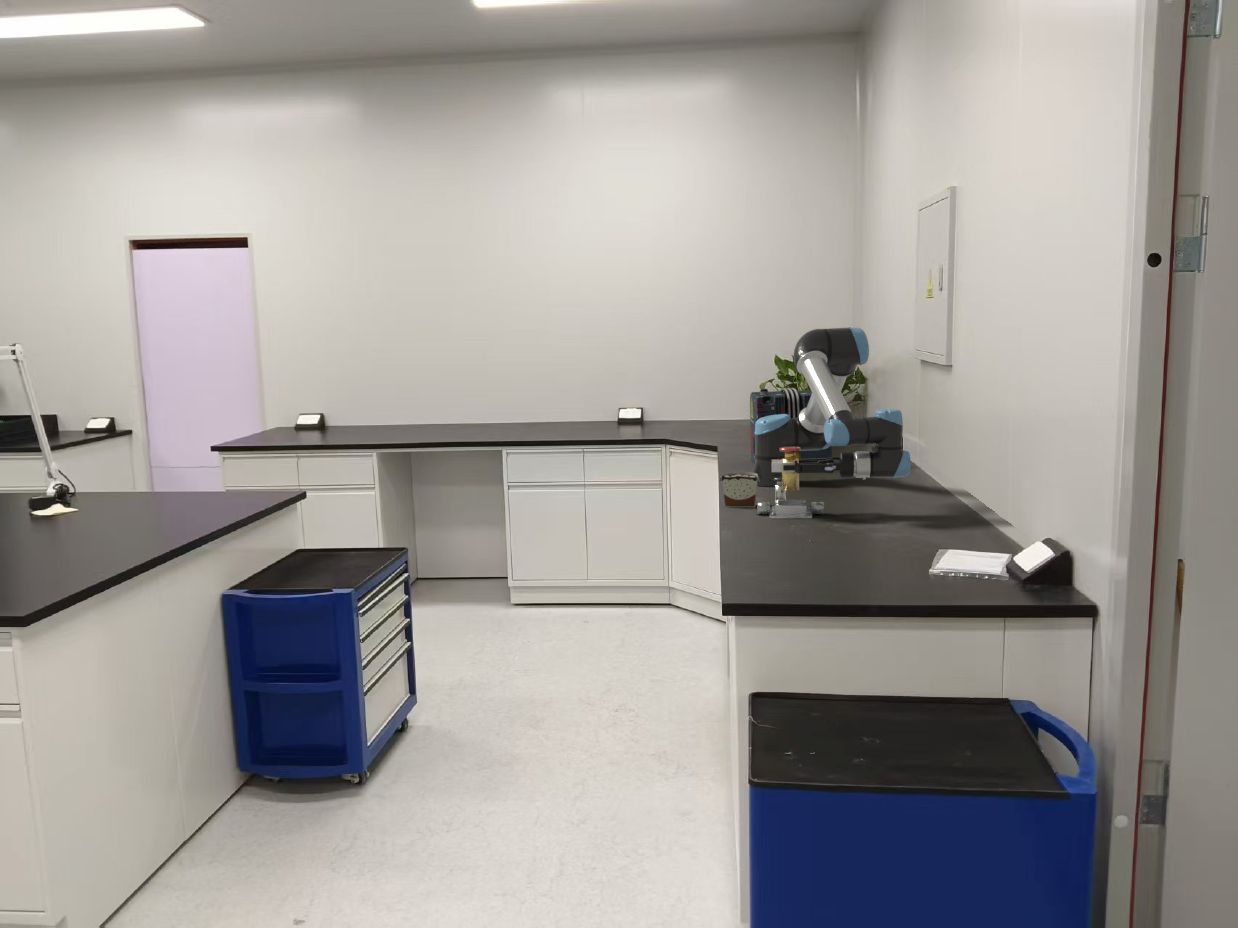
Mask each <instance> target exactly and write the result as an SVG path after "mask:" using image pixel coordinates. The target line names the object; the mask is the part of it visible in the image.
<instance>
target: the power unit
mask: <svg viewBox="0 0 1238 928" xmlns="http://www.w3.org/2000/svg"><path fill="white" fill-rule="evenodd" d="M749 395H750V396H749V414H750V415H749V416H750V417H749V420H750V426H749V427H750V459H751V461H752V463H753V465H755V461H756V453H755V423H756V421H757V420H758V419H760V418H762V417H766V416H770V415H779V414H787V415H789V417H790V418H798V416H799V414H800V412H801V411H802V410H803V409H804V408H806V407H807V405H808V403H809V400H810V397H811V395H812V391H811V389H808V390H806V389H805V390H804V389H803V390H797V389H796V388H794V387H791V388H789V387H787V388H781V390H780V391H777V390H776V391H769V390H768V388H761V389H760V391H752V392H750V394H749ZM828 457H830V458H833V446H830V447H828V448H827V449H822V450H818V451H816V450H815V451H798V452H795V458H828Z"/></svg>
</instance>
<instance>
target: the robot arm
mask: <svg viewBox="0 0 1238 928" xmlns="http://www.w3.org/2000/svg"><path fill="white" fill-rule="evenodd" d="M869 355H870V346H869V340H868V337H867V334H866V333H865V331H864V329H862V328H861V327H850V326H849V327H833V328H815V329H811V330H809V331H807V332H805V333H804V334H803V335H802V336H801V337H800V338H799V339H798V340H797V342H796V344H795V347H794V350H793V363H794V366H795V368H796V370H797V372H798V373H799V374H800V375H801V376H803V377H804V378H805V381H806V383H807V385H808V387H809V390H811V391H812V395H811V397H810V400H809V403H808V405H807V407H806V408H804V409H803V410H802V411H801V412H800V414H799V416H798V418H790V417H789V415H787V414H779V415H770V416H766V417H762V418H760V419H758V420H757V421H756V423H755V453H756V461H755V464H753V465H754V466H753V469H752V472H751V473H756V474H758V476H759V480H760V482H759V481H758V482H757V487H758V486H760V487H775V485H776V484H777V481H775V480H774V477H782V472H797V473H799V474H819V473H820V474H824V473H825V474H833V473H834V472H839V477H840V478H841V479H852V478H854V477H855V478H859V479H862V481H863V480H867V478H872V479H873V478H874V479H875V478H879V479H880V478H881V479H883V478H884V479H885V478H892V479H894V478H906V477H909V475H910V473H911V453H910V452H909V451H908V450H904V448H903V428H904V423H903V420H904V419H903V413H902V411H901V410H900V409H894V408H880V409H876V410H875V412H874V415H873V416H868V417H856V418H855V416H854V414H853V412H852V410H851V408H850V407H849V405H848V402H847V401H846V399H845V397H844V395H843V393H842V389H843V388H844V385H845V382H846V380H847V379H848V377H850V376H851V375H853V374H854V373H855V371H856V369H857V367H858V365H860V366H862V365H865V364H867V363H868V360H869ZM871 444H872V445H874V451H869V450H865V451H855V452H852V451H841V452H840V453H839V459H834V457H832V458H830V457H828V458H798V459H799V463H797V461H795V465H794V462H782V459H783V458H785V452H781V451H780V448H781V447H800V448H801V451H815V450H816V451H818V450H822V449H827V448H828V447H830V446H832V447H846V446H847V447H848V446H860V445H871Z"/></svg>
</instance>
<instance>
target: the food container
mask: <svg viewBox="0 0 1238 928" xmlns="http://www.w3.org/2000/svg"><path fill="white" fill-rule="evenodd" d="M758 481H759V482H760V480H759V476H758V474H756V473H752V472H749V471H748V472H747V471H734V472H733V471H732V472H724V473H722V474H720V476H719V482H720V483H721V487H722V489H721V490H722V495H723V496H722V497H723V504H724V505H723V506H724V507H725V508H756V505H757V502H756V501H757V490H758V485H757V482H758Z"/></svg>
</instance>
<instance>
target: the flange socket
mask: <svg viewBox="0 0 1238 928" xmlns="http://www.w3.org/2000/svg"><path fill="white" fill-rule="evenodd" d="M756 505H757V506H756V508H757V509H756V513H757V515H769V516H768V517H769V519H774V520H775V519H813V515H825V501H811V506H810V505H807V500H806V499H786V500H774V505H772V506H771V502H770V501H758V502H756Z"/></svg>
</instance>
